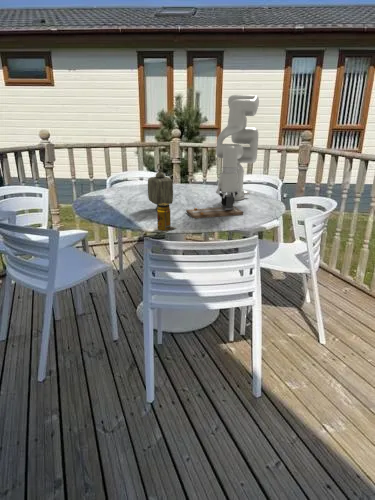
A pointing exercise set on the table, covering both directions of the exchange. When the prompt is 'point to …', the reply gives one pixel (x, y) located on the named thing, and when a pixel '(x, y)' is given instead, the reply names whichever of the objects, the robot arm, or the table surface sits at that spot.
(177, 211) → the table surface
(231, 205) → the fader slider
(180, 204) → the table surface
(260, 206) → the table surface
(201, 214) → the fader board
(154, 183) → the tabletop clock
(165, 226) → the condiment
